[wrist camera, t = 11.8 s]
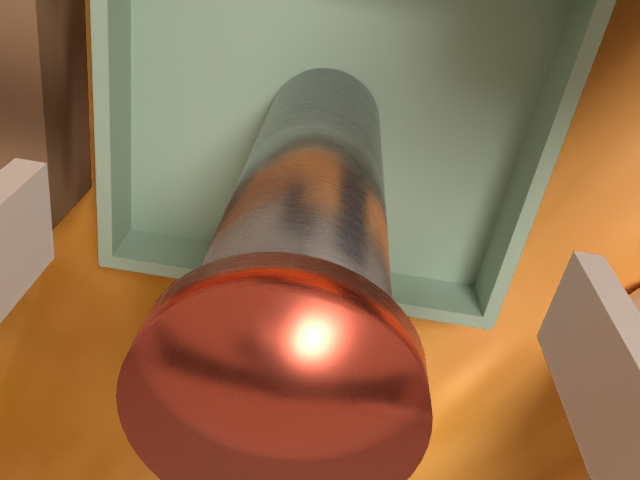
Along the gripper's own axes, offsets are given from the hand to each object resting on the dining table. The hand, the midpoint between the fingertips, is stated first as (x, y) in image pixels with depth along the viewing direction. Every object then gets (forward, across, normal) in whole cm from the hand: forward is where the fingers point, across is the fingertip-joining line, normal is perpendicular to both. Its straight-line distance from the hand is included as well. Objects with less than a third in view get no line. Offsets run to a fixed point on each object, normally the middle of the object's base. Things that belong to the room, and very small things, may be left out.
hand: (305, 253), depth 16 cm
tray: (+11, 0, 0) cm, 11 cm away
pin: (+11, 0, 0) cm, 11 cm away
